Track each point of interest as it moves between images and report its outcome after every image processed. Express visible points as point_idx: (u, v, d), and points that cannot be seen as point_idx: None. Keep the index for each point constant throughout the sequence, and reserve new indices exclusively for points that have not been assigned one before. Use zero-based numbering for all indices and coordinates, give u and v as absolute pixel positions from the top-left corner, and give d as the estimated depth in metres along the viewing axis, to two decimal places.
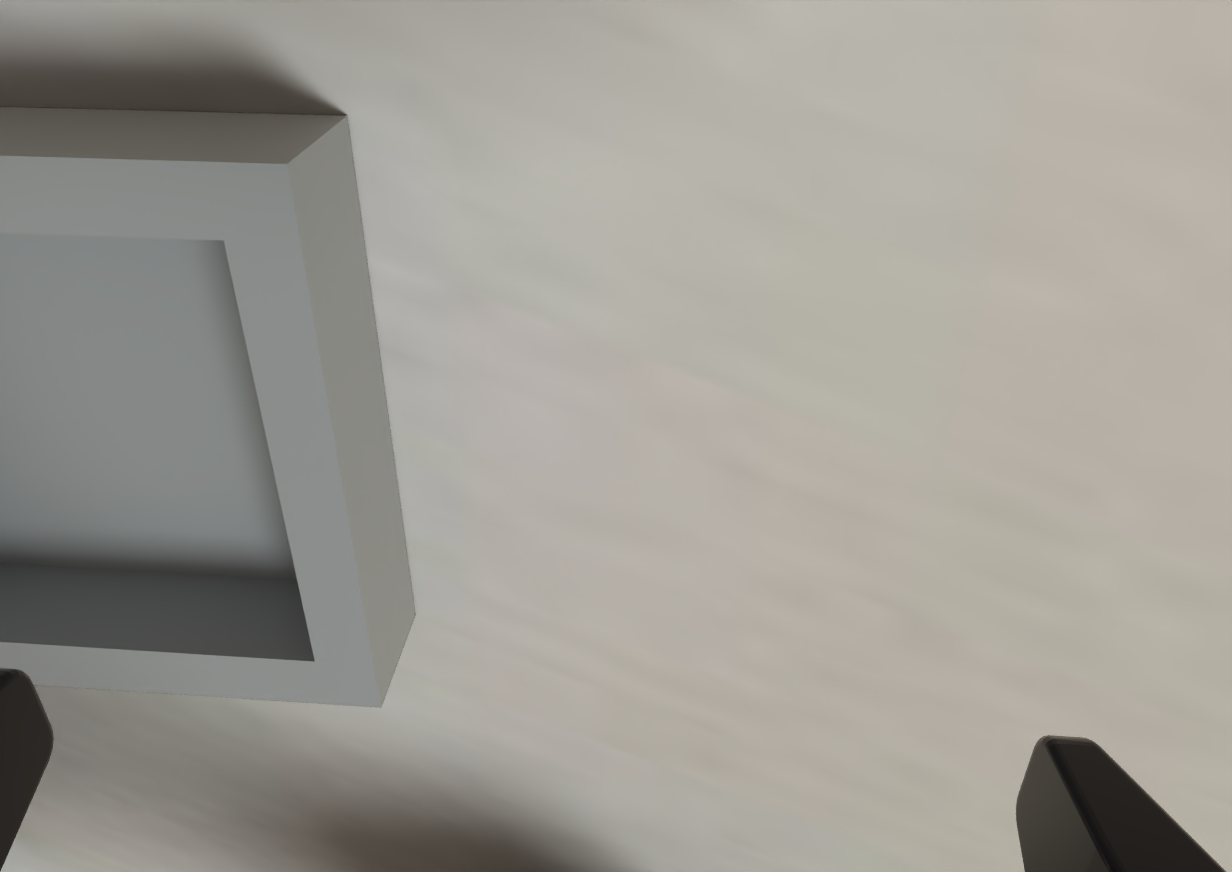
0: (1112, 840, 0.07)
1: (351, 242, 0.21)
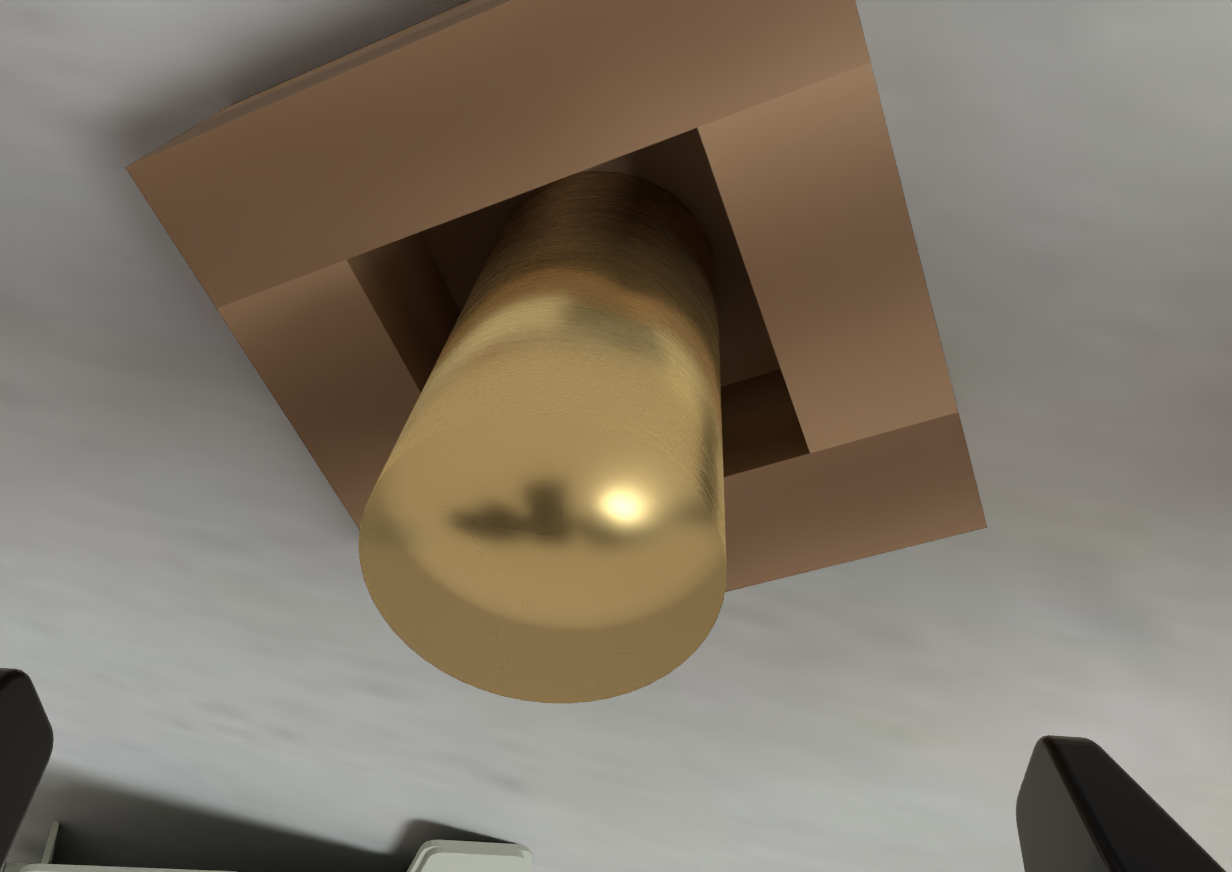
0: (1112, 840, 0.07)
1: None
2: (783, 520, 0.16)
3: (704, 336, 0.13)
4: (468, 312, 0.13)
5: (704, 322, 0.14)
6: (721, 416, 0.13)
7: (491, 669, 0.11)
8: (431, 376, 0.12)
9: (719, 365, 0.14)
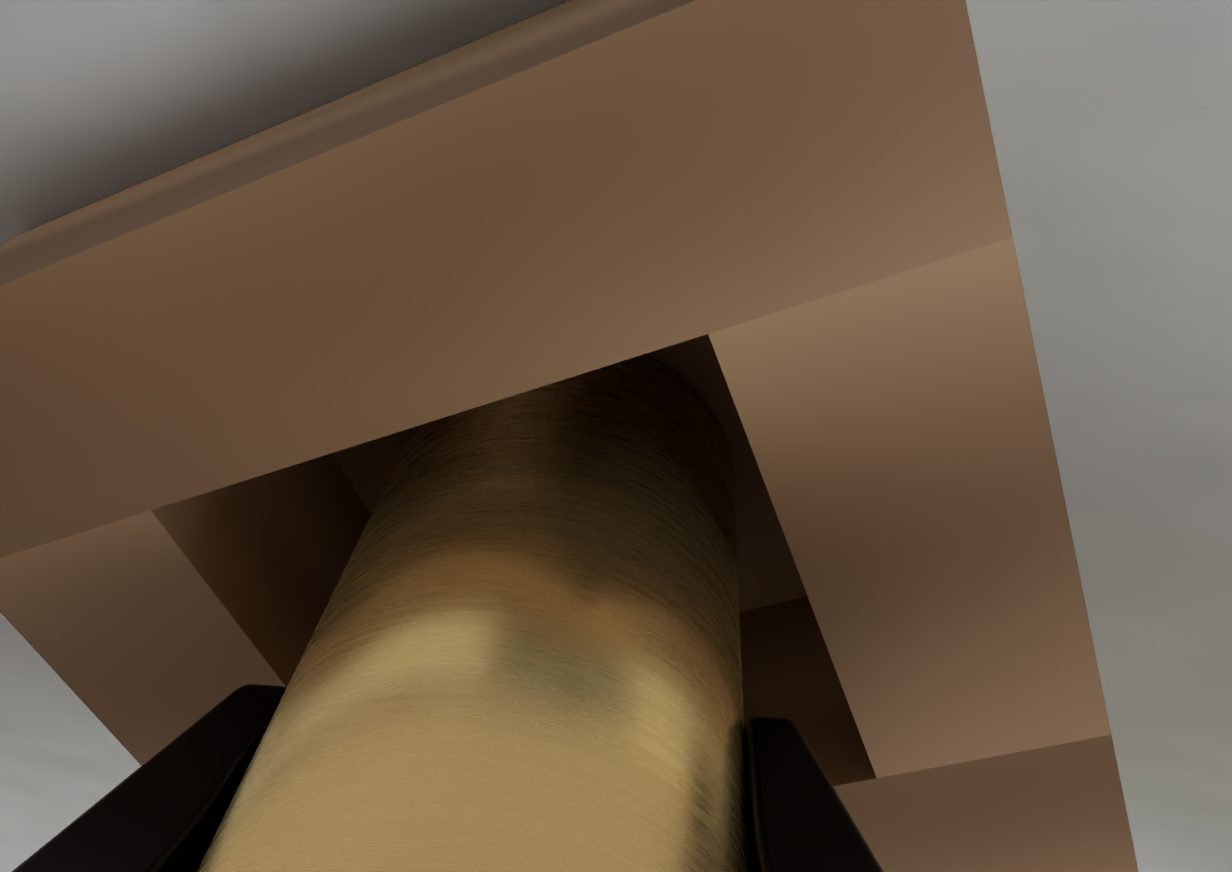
0: (768, 815, 0.07)
1: None
2: None
3: (718, 669, 0.08)
4: (320, 645, 0.08)
5: (718, 634, 0.08)
6: None
7: None
8: (231, 810, 0.07)
9: (741, 685, 0.09)
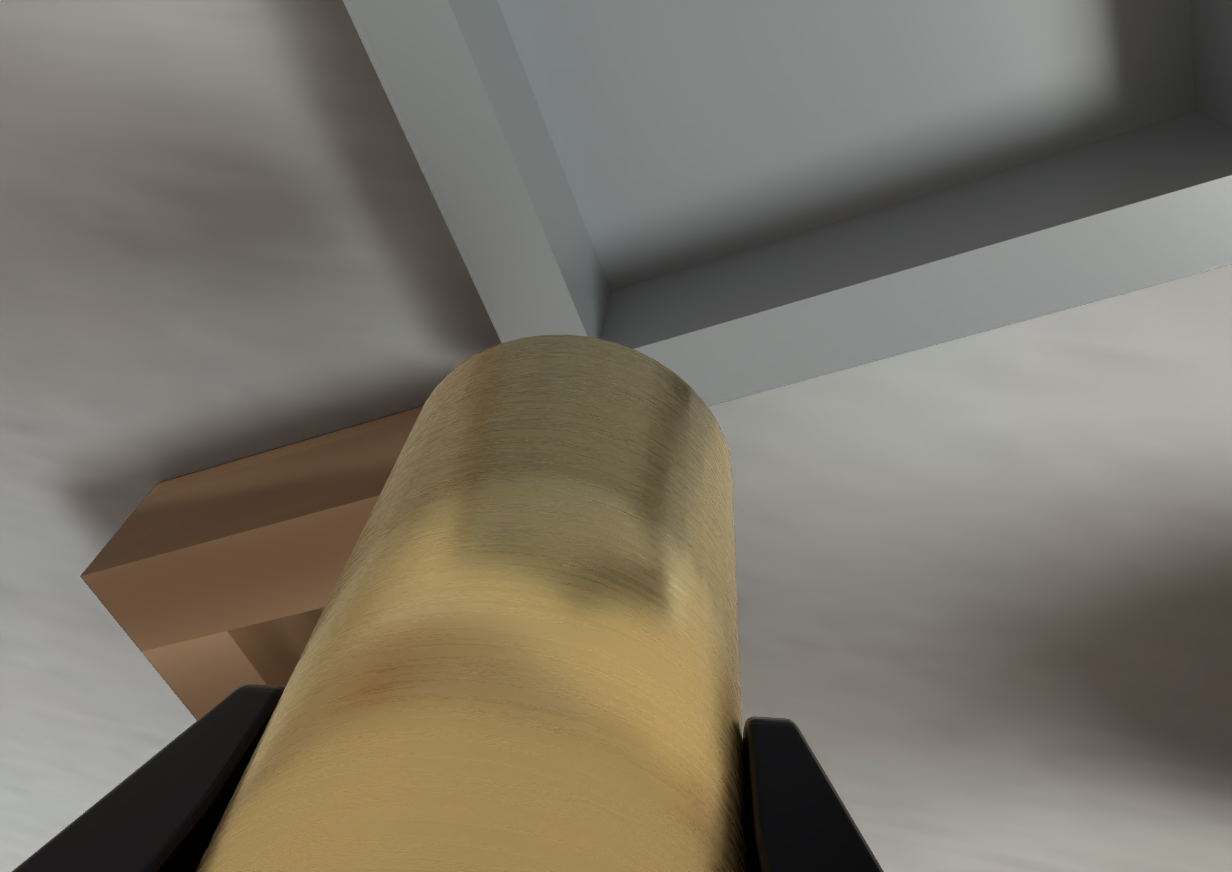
0: (768, 816, 0.07)
1: None
2: None
3: (716, 670, 0.08)
4: (318, 646, 0.08)
5: (716, 636, 0.08)
6: None
7: None
8: (229, 811, 0.07)
9: (739, 686, 0.09)
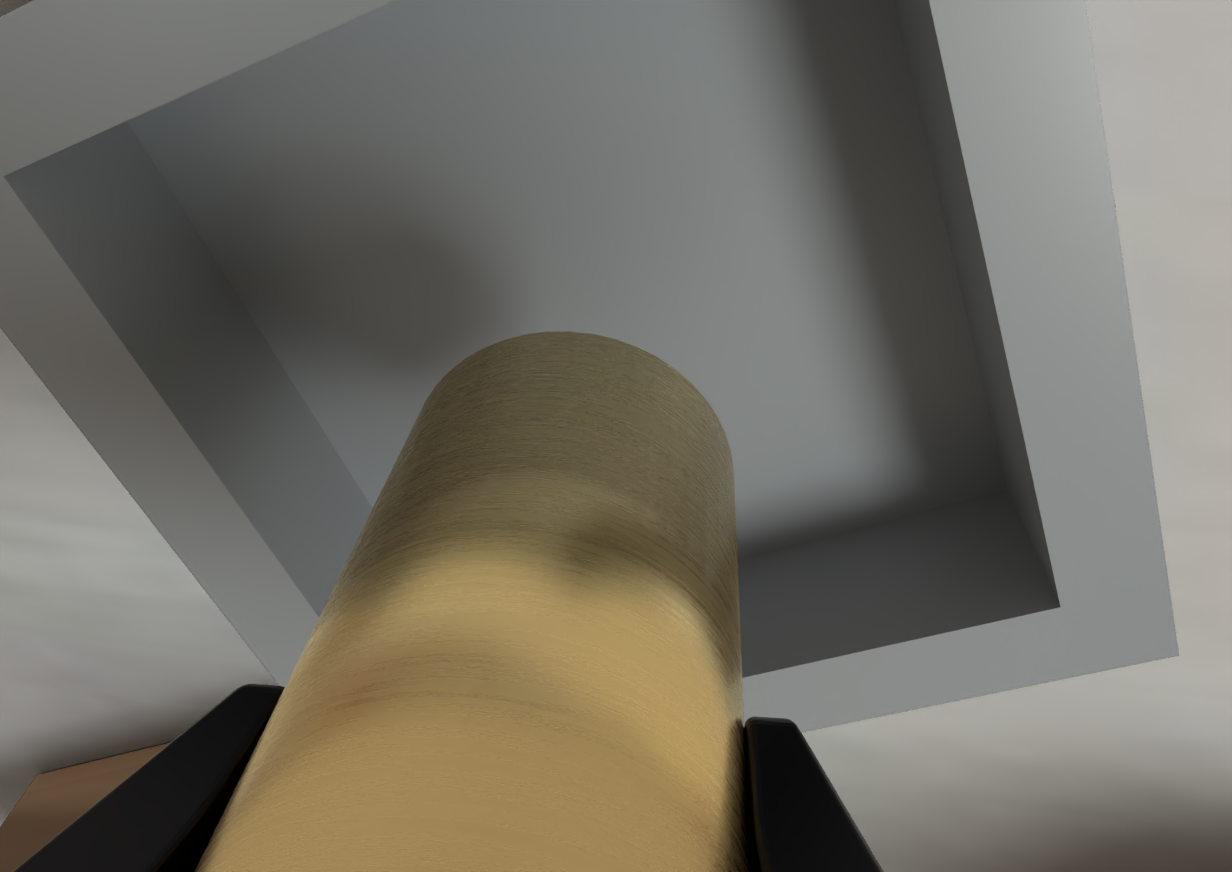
0: (768, 816, 0.07)
1: None
2: None
3: (718, 668, 0.08)
4: (319, 643, 0.08)
5: (718, 633, 0.08)
6: None
7: None
8: (229, 808, 0.07)
9: (741, 684, 0.09)
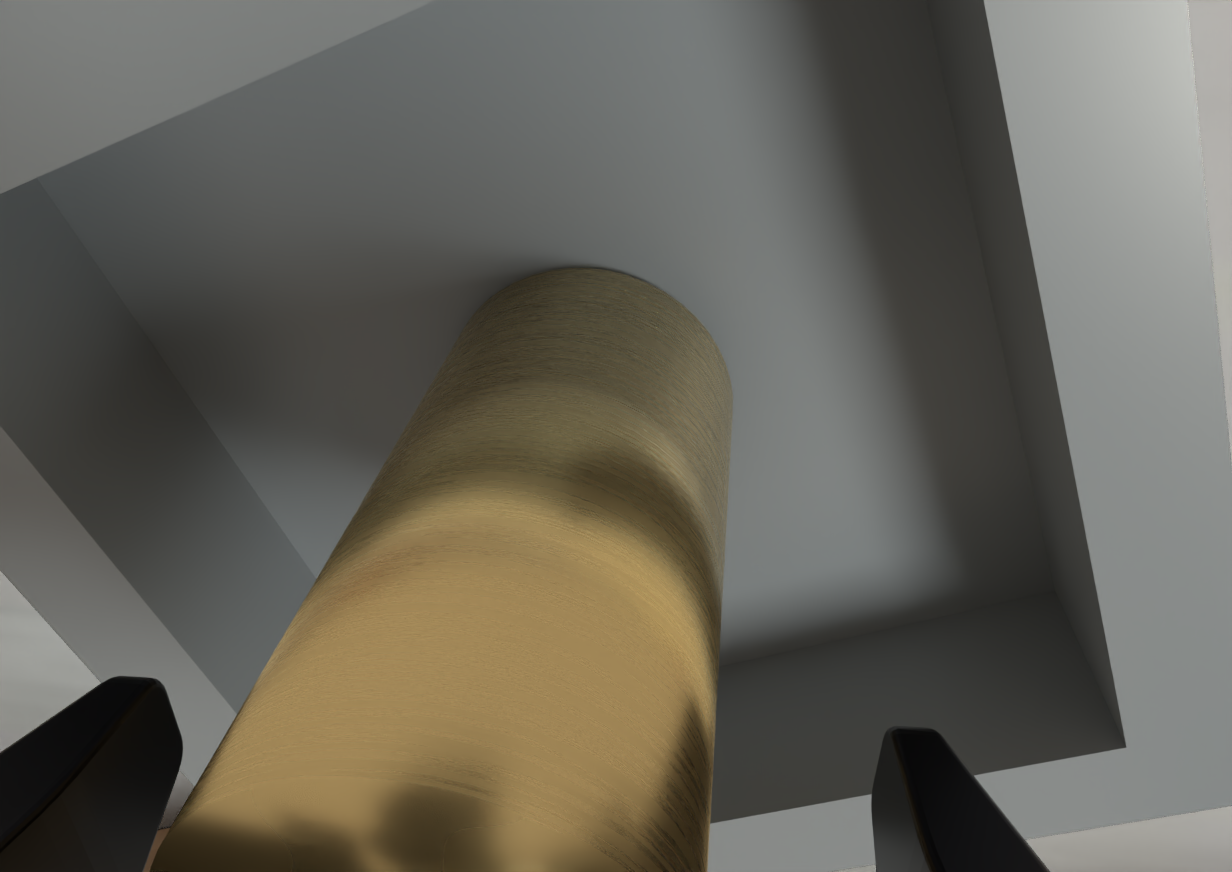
0: (933, 827, 0.07)
1: None
2: None
3: (699, 536, 0.10)
4: (369, 500, 0.09)
5: (701, 510, 0.10)
6: (717, 658, 0.09)
7: None
8: (297, 614, 0.08)
9: (722, 560, 0.10)
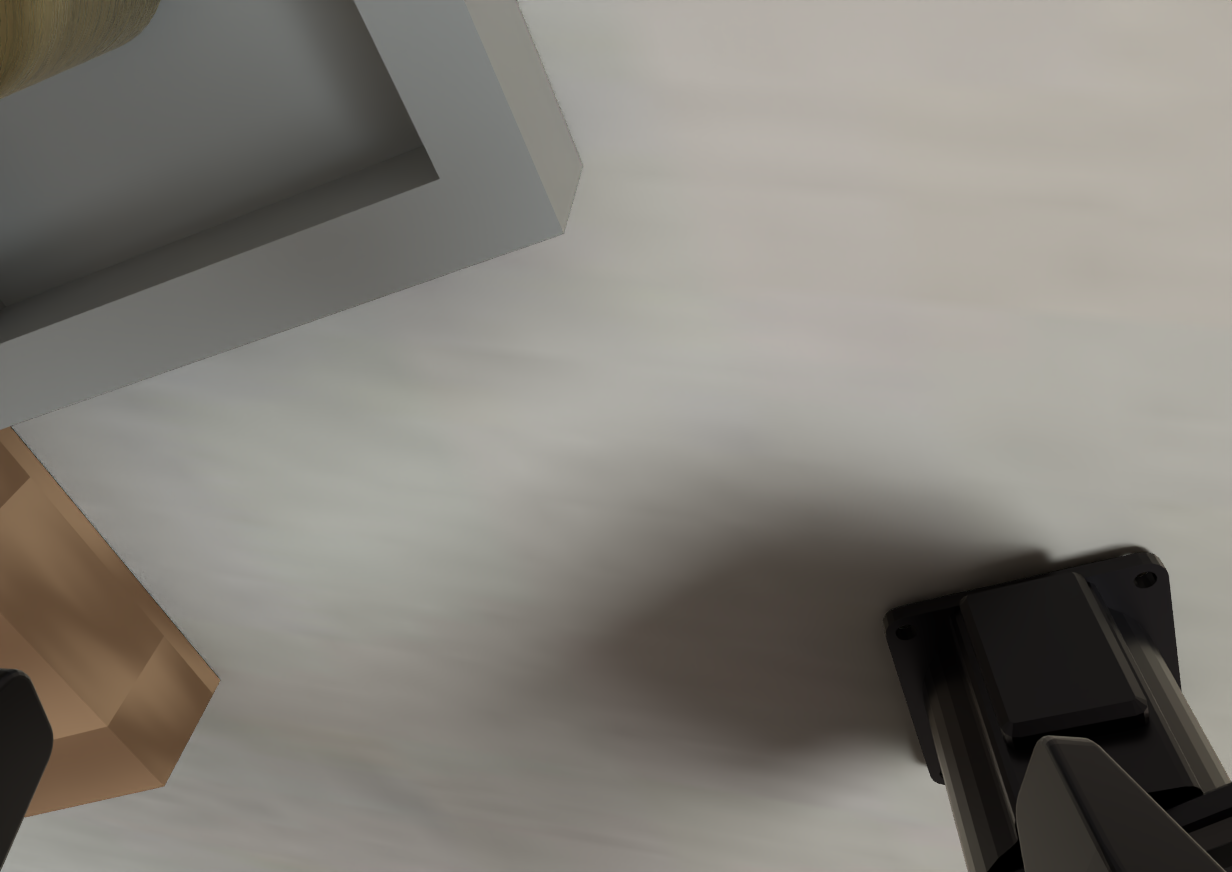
0: (1112, 840, 0.07)
1: None
2: None
3: None
4: None
5: None
6: None
7: None
8: None
9: None
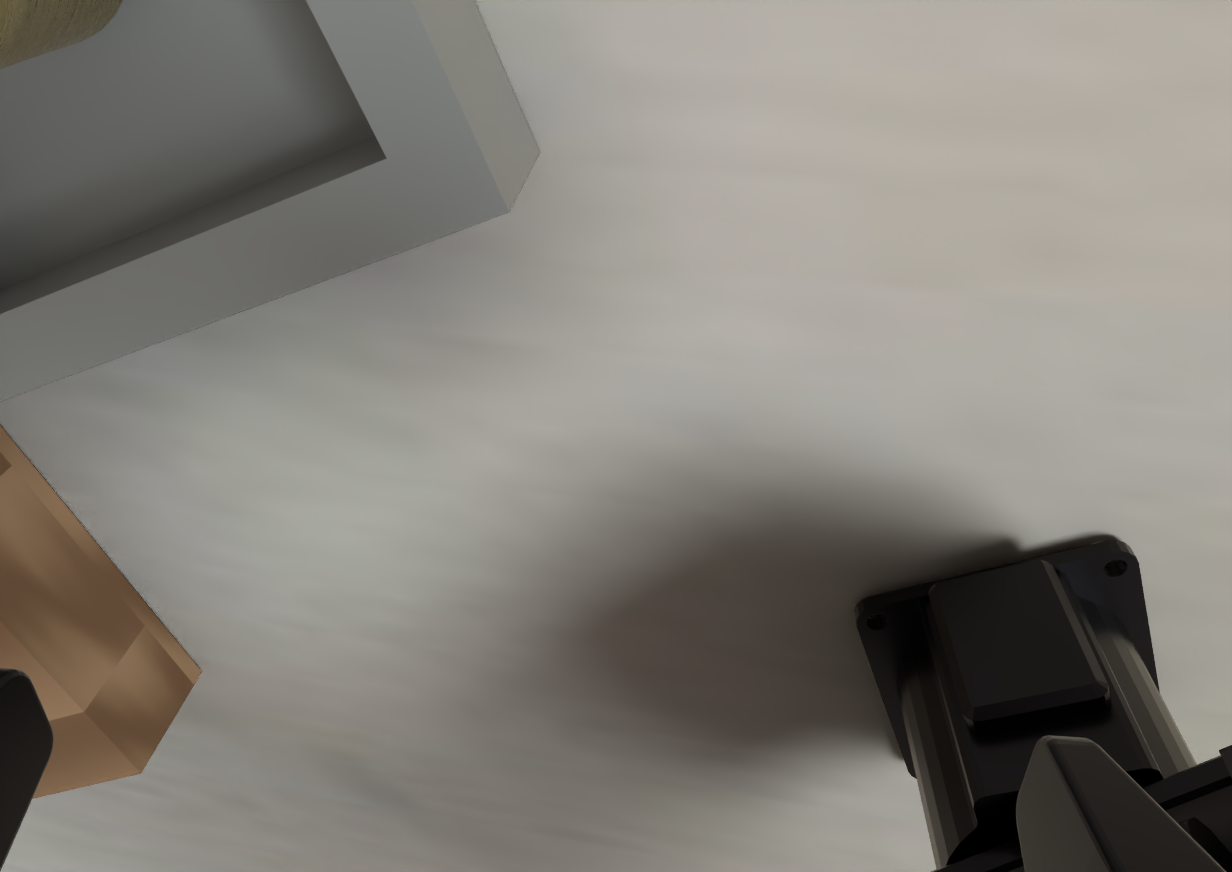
0: (1112, 840, 0.07)
1: None
2: None
3: None
4: None
5: None
6: None
7: None
8: None
9: None
